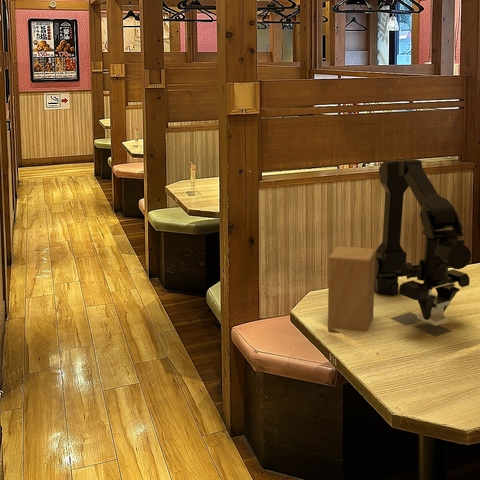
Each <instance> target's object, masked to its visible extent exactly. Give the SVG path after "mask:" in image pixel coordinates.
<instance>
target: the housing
mask: <svg viewBox="0 0 480 480" xmlns="http://www.w3.org/2000/svg"><path fill="white" fill-rule="evenodd" d="M431 295H432V296H435V300H434V304H433V307H432V310H431V313H430V316H429V319H428V320H425V319H424V318H423V314H422V312H418V313H417V314H416V315H417V318H418V319H421V320H423V321H422V322H424V323H426V322H428V323H430V324H433V325H435V326H437V325H439V326H441V325H443V324H446V323H449V321H450V320H449V319H450V316H447V315H445V311H444V306H447V305H448V306H450V305H451V302H450V300H447V299H445V298H442V297H439V296H437V294H433V293H431ZM448 306H447V307H448Z"/></svg>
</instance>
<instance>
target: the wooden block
mask: <svg viewBox="0 0 480 480" xmlns="http://www.w3.org/2000/svg"><path fill="white" fill-rule="evenodd" d="M375 254H376V249H375V248H367V247H355V246H343V245H342V246H341V245H340V246H339V245H337V246H336V247H335V248H334V250H333V251H332V253H330V255H329V257H328V288H327V289H328V291H327V292H328V293H327V295H328V296H327V297H328V298H327V299H328V300H327V301H328V302H327V304H328V305H327V306H328V307H327V331H328V333H336V334H341V332H340V331H338V330H336V329H341V330H350V331H357V332H358V331H360V332H369V329H370V326H371V324H372V322H373V318H374V309H375V308H374V306H375V305H374V302H375V291H374V279H375Z"/></svg>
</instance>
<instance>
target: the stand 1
mask: <svg viewBox="0 0 480 480" xmlns="http://www.w3.org/2000/svg"><path fill="white" fill-rule="evenodd" d="M390 320H393V321H396V322H398V323H400V324H401V325H404V326H410V325H413V324H416V323H420V322H424V321H423V320H421V319H418V318H417V314H416V313H414V312H412V311H409V312H405V313H402V314H400V315H396V316H392V317H390Z"/></svg>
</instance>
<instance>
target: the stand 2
mask: <svg viewBox="0 0 480 480" xmlns="http://www.w3.org/2000/svg"><path fill="white" fill-rule="evenodd" d="M413 328H415V329H417V330H419V331H421V332H424V333H427V334H429V335H431V336H433V337H436V338H437V337H439V336H442V335H444V334H447V333H451V332H452V330H451V329H449V328H446V327H444V326H442V325H437V326H435V325H433V324H430V323H428V322H424V323H421V324H418V325H417V324H416V325H414V326H413Z"/></svg>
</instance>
